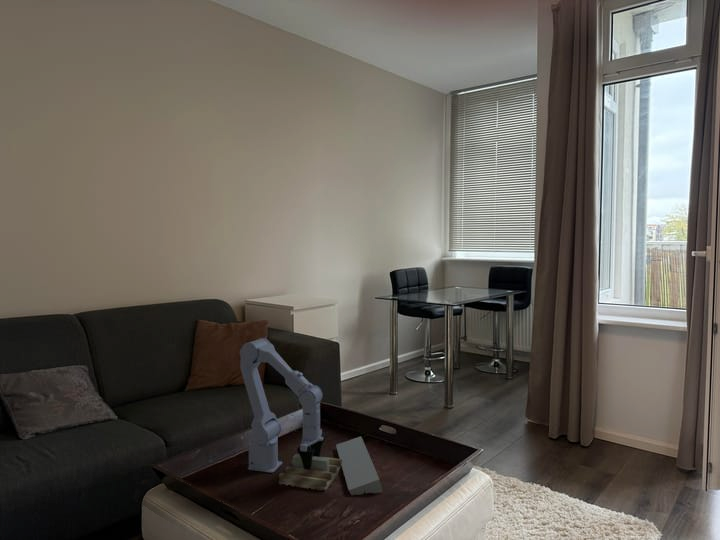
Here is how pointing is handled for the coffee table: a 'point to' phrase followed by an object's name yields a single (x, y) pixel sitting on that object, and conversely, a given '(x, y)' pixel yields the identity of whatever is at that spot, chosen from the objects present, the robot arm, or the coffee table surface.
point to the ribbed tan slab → (311, 476)
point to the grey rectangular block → (358, 467)
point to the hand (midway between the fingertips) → (311, 463)
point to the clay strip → (317, 463)
